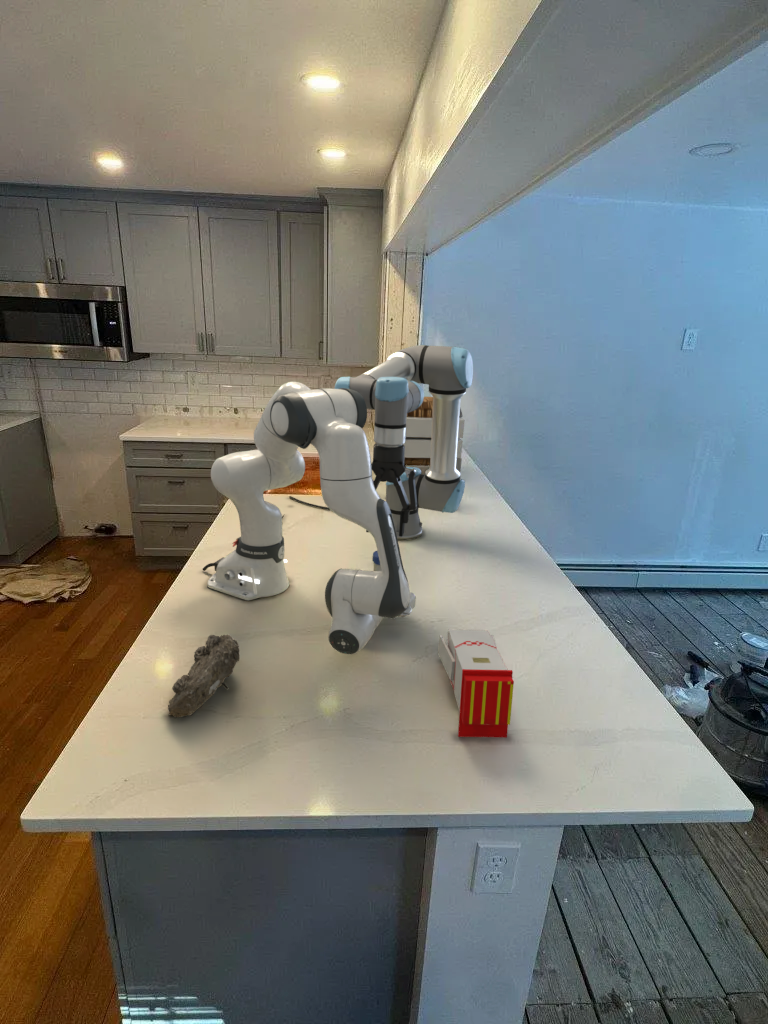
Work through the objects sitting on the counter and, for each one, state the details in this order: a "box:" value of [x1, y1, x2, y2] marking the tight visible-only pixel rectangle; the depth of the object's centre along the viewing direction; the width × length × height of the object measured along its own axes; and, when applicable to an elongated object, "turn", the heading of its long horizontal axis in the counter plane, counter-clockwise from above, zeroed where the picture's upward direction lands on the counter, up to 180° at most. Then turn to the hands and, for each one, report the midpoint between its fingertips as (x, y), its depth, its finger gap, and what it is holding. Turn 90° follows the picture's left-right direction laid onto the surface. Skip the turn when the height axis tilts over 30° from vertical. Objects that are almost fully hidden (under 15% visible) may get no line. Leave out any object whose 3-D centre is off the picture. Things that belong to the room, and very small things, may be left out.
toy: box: [437, 628, 515, 738], centre depth 117 cm, size 12×13×30 cm
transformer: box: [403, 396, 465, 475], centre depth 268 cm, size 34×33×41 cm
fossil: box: [167, 634, 241, 718], centre depth 115 cm, size 22×10×15 cm
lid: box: [371, 550, 380, 565], centre depth 145 cm, size 6×6×2 cm
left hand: (383, 584), depth 149 cm, fingers open, 8 cm apart
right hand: (385, 532), depth 143 cm, fingers open, 8 cm apart
